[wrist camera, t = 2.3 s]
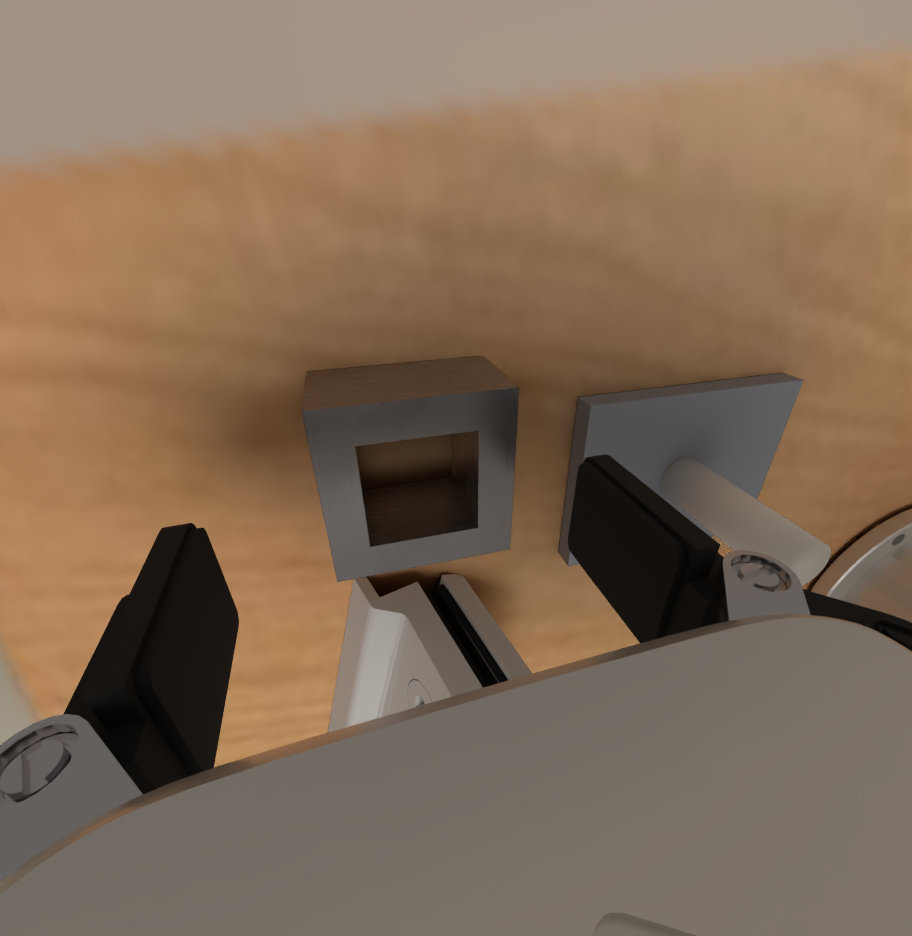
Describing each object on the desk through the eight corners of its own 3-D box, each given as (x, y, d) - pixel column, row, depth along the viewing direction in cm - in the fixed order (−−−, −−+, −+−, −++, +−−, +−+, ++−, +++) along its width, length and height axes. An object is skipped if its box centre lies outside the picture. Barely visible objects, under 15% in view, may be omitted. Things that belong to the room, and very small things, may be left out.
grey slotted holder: (355, 570, 19) (500, 805, 12) (445, 549, 21) (604, 729, 15) (318, 788, 26) (395, 1014, 19) (389, 751, 29) (479, 935, 22)
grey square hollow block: (482, 355, 15) (519, 387, 12) (481, 496, 18) (510, 549, 15) (306, 371, 14) (301, 411, 11) (335, 520, 17) (337, 581, 14)
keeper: (782, 373, 19) (982, 439, 13) (729, 518, 23) (866, 619, 17) (578, 396, 17) (708, 488, 11) (558, 552, 21) (647, 679, 15)
